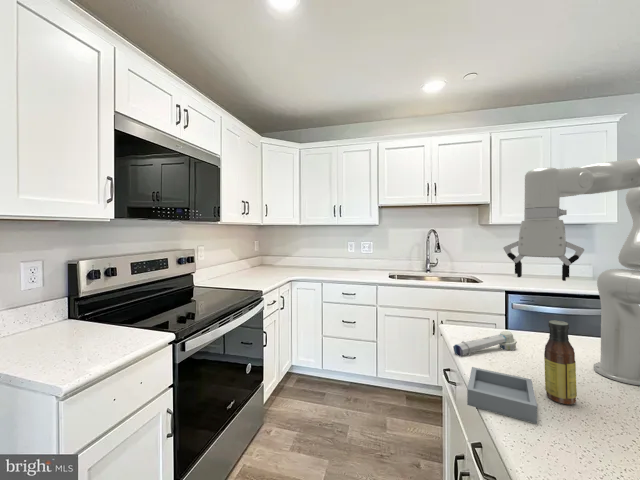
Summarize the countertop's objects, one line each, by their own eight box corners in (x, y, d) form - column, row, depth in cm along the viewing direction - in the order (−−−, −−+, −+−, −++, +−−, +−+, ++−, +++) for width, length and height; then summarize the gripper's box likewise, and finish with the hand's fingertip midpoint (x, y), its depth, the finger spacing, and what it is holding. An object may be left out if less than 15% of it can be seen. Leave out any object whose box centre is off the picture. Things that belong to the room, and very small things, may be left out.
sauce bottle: (569, 394, 77) (570, 319, 76) (581, 408, 71) (583, 327, 70) (539, 390, 79) (540, 317, 78) (549, 403, 73) (550, 324, 72)
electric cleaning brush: (451, 341, 104) (506, 326, 111) (453, 359, 105) (508, 343, 111) (462, 347, 99) (519, 330, 106) (464, 366, 100) (520, 348, 106)
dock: (531, 394, 77) (531, 379, 77) (537, 424, 65) (537, 406, 65) (471, 380, 84) (471, 366, 84) (467, 405, 73) (467, 389, 72)
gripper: (584, 214, 76) (583, 279, 76) (506, 217, 87) (505, 274, 87) (585, 212, 70) (584, 283, 70) (501, 216, 81) (501, 277, 82)
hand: (540, 278), depth 79 cm, fingers open, 9 cm apart
